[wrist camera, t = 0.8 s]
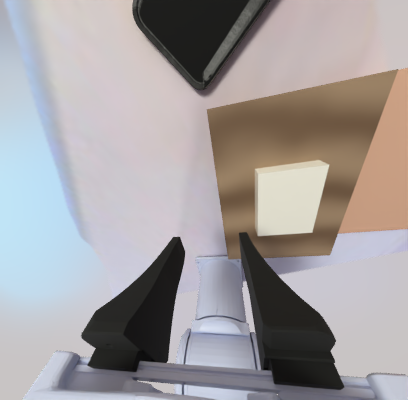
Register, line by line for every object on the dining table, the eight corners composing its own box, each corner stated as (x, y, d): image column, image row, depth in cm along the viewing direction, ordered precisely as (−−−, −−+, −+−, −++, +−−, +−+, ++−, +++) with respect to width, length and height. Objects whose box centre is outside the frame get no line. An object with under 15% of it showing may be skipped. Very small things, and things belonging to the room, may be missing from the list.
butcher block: (319, 241, 23) (329, 255, 20) (227, 246, 25) (228, 259, 23) (367, 76, 13) (398, 69, 11) (208, 110, 15) (206, 109, 13)
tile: (305, 224, 18) (312, 232, 17) (255, 227, 19) (257, 236, 18) (319, 159, 14) (329, 164, 13) (254, 168, 15) (258, 174, 14)
